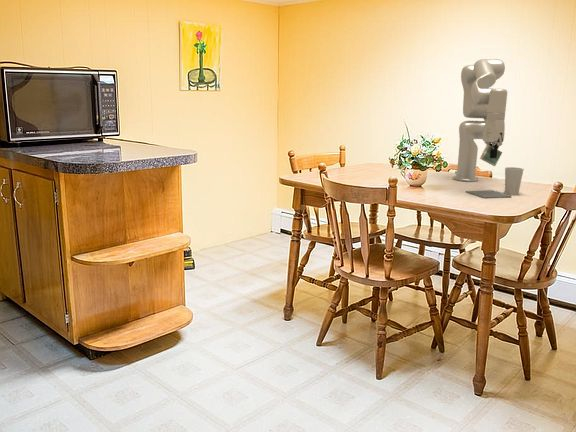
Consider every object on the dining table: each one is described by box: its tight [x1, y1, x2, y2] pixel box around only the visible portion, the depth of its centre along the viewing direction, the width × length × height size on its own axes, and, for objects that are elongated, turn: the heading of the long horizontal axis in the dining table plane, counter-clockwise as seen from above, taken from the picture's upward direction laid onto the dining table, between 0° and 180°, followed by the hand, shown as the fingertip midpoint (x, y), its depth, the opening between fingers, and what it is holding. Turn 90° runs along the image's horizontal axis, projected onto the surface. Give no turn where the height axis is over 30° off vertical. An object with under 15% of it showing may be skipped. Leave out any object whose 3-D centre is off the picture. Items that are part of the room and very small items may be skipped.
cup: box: [503, 166, 525, 196], centre depth 250 cm, size 8×8×12 cm
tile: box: [479, 144, 503, 167], centre depth 243 cm, size 2×8×7 cm, turn 103°
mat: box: [465, 189, 512, 199], centre depth 248 cm, size 15×14×1 cm
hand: (491, 157), depth 244 cm, fingers closed on tile, 1 cm apart
